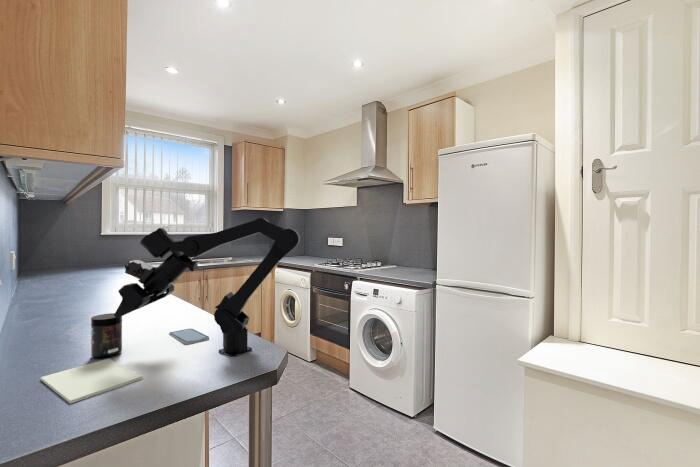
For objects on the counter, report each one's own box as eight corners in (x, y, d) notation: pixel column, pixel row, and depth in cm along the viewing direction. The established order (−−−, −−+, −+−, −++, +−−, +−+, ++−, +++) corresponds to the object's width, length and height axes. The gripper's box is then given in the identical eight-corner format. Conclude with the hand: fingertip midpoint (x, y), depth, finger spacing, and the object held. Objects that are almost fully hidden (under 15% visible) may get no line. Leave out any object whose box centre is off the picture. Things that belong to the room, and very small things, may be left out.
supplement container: (111, 349, 93) (111, 312, 93) (128, 352, 90) (128, 314, 90) (84, 357, 87) (84, 318, 87) (101, 361, 84) (101, 320, 84)
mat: (142, 378, 75) (142, 376, 75) (70, 403, 64) (70, 400, 64) (108, 360, 84) (108, 358, 84) (40, 379, 74) (40, 377, 74)
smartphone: (191, 328, 112) (210, 337, 102) (191, 330, 112) (210, 340, 102) (167, 332, 107) (185, 342, 96) (167, 335, 107) (185, 346, 96)
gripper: (163, 248, 99) (124, 285, 98) (127, 252, 80) (78, 298, 79) (190, 274, 99) (151, 311, 98) (161, 284, 81) (113, 330, 80)
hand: (126, 312), depth 89 cm, fingers open, 9 cm apart
